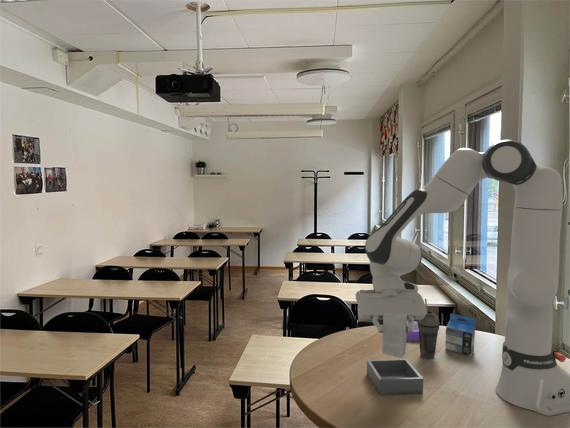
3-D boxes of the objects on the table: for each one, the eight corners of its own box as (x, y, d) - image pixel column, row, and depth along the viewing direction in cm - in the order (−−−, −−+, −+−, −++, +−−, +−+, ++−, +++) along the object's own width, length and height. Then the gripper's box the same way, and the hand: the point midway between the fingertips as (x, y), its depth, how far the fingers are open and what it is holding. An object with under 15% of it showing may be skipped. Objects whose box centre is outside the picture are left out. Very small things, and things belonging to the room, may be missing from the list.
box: (406, 372, 127) (406, 358, 127) (423, 393, 115) (423, 378, 114) (366, 374, 126) (367, 360, 126) (379, 395, 114) (379, 380, 113)
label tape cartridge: (444, 349, 144) (445, 315, 143) (448, 346, 147) (449, 313, 146) (470, 356, 138) (472, 321, 137) (474, 353, 141) (475, 318, 140)
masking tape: (433, 337, 156) (434, 327, 155) (412, 343, 150) (412, 333, 149) (410, 327, 166) (410, 318, 165) (389, 333, 160) (389, 323, 160)
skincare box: (406, 353, 120) (407, 314, 119) (401, 358, 116) (403, 318, 115) (386, 348, 123) (387, 310, 122) (381, 353, 119) (382, 314, 118)
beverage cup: (440, 361, 134) (442, 303, 133) (417, 359, 136) (419, 301, 134) (436, 352, 142) (438, 296, 140) (415, 350, 143) (416, 295, 141)
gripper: (356, 284, 125) (361, 327, 116) (422, 285, 125) (432, 327, 116) (353, 294, 130) (358, 336, 121) (417, 295, 130) (426, 336, 121)
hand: (395, 332), depth 118 cm, fingers closed on skincare box, 7 cm apart
